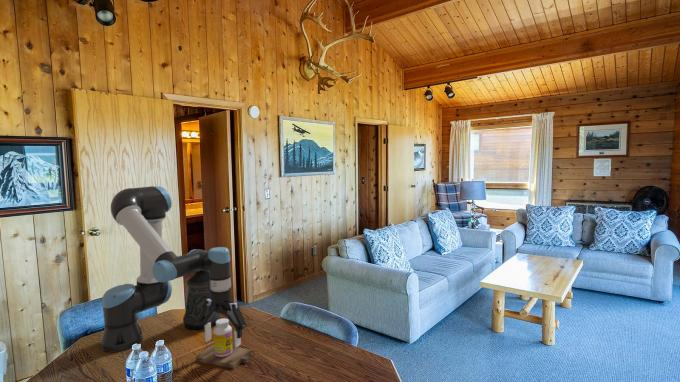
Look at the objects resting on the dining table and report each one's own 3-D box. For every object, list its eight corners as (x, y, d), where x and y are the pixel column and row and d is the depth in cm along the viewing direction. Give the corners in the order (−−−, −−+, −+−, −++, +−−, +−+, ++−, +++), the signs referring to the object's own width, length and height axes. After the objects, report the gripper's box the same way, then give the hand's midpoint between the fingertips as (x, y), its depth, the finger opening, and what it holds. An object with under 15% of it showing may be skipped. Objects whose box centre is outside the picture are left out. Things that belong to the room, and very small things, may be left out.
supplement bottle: (227, 358, 137) (225, 325, 136) (211, 357, 138) (209, 324, 137) (235, 349, 143) (234, 317, 142) (220, 348, 145) (218, 316, 144)
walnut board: (196, 360, 139) (195, 357, 139) (215, 346, 149) (215, 343, 149) (239, 369, 132) (239, 365, 132) (256, 354, 142) (256, 350, 142)
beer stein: (178, 323, 172) (174, 270, 169) (217, 311, 185) (215, 262, 183) (191, 335, 159) (188, 278, 157) (233, 321, 173) (230, 269, 170)
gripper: (187, 288, 139) (189, 342, 141) (242, 296, 131) (245, 353, 133) (200, 282, 146) (203, 333, 148) (254, 289, 138) (256, 343, 140)
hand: (223, 342), depth 141 cm, fingers open, 13 cm apart
